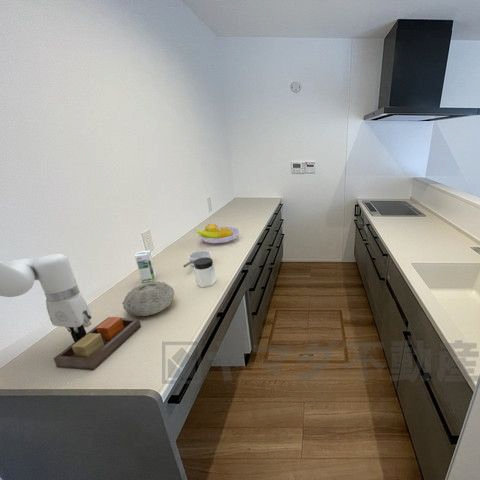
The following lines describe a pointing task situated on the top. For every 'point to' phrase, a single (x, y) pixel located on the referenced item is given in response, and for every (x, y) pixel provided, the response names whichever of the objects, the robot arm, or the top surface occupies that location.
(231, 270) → the top surface
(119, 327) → the soap bar tray
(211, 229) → the fruit bowl
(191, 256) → the saucepan
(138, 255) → the syrup box
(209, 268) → the jar
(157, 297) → the grey rounded stone
